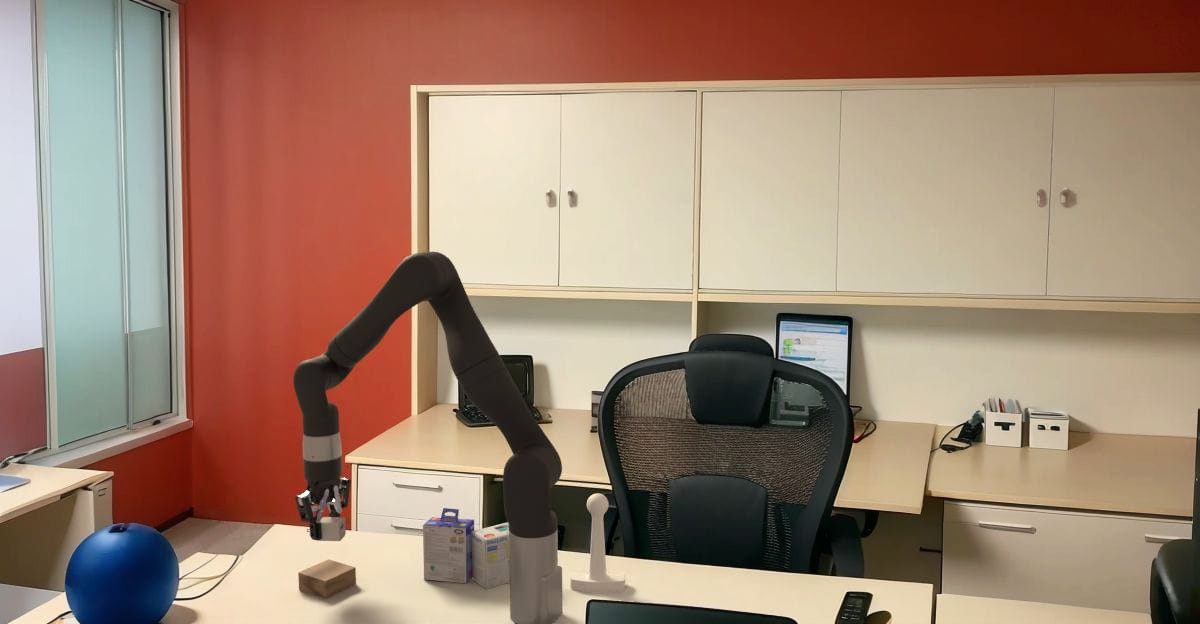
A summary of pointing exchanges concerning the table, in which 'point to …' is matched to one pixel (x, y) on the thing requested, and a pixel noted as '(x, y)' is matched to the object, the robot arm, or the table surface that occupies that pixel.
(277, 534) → the table surface
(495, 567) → the light bulb box
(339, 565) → the walnut block
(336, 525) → the usb wall charger
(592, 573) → the joystick
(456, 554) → the ink cartridge box
